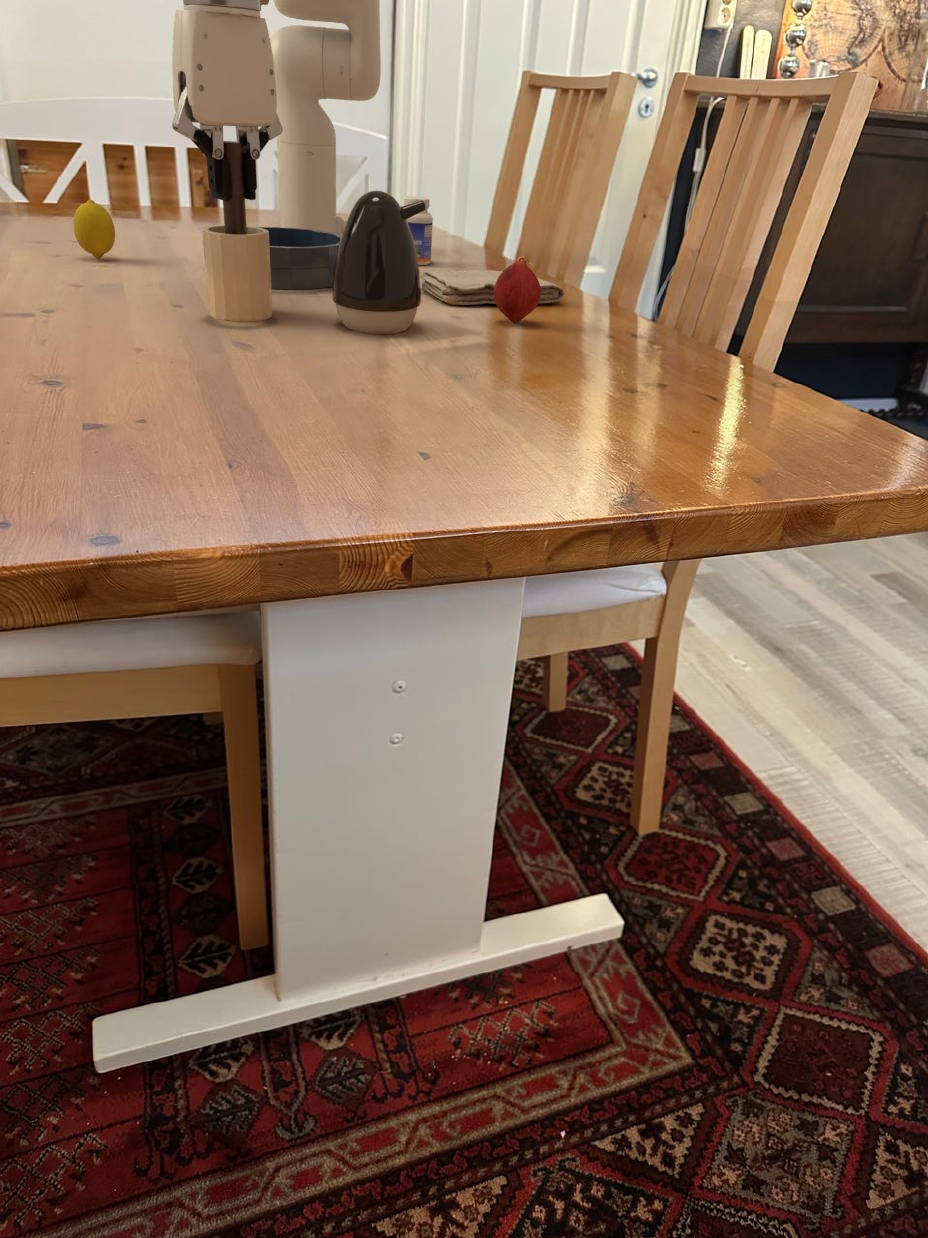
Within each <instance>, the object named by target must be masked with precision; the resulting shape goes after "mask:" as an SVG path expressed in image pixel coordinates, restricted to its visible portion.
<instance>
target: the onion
mask: <svg viewBox="0 0 928 1238" xmlns="http://www.w3.org/2000/svg"><path fill="white" fill-rule="evenodd" d="M527 262H528V259H527V258H526V256H524V255H523V256H519V257H518V258H517V259H516V260H515V261H514V262H513V263H511V265H508V266H507V267H506V268H505V269H504V270H502V271H503V272H502V273H501V274H500V276H499V277H498V279H497V281H496V284H495V289H494V298H495V302H496V304H495V305H496V308H498V310H499V311H500V313H501V314H502V315H503V316H504V317H506V318H507V319H508V320H509V321H510V322H511V323H514V324H517V323H520V322H521V321H522V320H523V319H525V318H526V317H527V316H528V315H530V314H531V313H532V312H533V311H534V310H535V309H536V308H537V307H538V305H539V304H540V303H539V301H540V296H541V287H540V284H539V281H538V279H537V278H538V277H537V275H536V274H535V272H534V271H533V270H532V269H531V268H530V267H529V266H528V265H527ZM538 303H539V304H538Z"/></svg>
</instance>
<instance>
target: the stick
mask: <svg viewBox="0 0 928 1238" xmlns="http://www.w3.org/2000/svg"><path fill="white" fill-rule="evenodd" d="M223 143H224V159H226V160H228V162H229V168H230V184H231V199H230V200H229V201H224V200H222V207H223V208H222V209H223V223H224V224H223V225H225V234H247V227H246V226H247V212H246V211H247V209H246V199H245V190H244V172H243V154H242V143H241V142H237V140H236V141H235V140H234V141H233V140H223Z"/></svg>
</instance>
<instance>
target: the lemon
mask: <svg viewBox="0 0 928 1238" xmlns="http://www.w3.org/2000/svg"><path fill="white" fill-rule="evenodd" d="M73 231H74V237H75V239H76V241H77V244H78V245H79V246H80V247H81V248H82V250H83V251H85V252H86V253H89V254H90V255H92V256H93V257H94V258H95V259H97V260H100V259H102V258H103V256H104V255H105V254H107V253H109V252H111V250H112V248H113V247H114V245H115V242H116V229H115V224H114V222H113V219H112V216H111V214H110V213H109V212H108V210H107V209H106V208H105V207H104V206H103V205H101V204H99V203H97V202H95V200H93V199H87V201H86V202H84V203H82V204H81V205H80V206H78V207H77V209H76V211H75V212H74V216H73Z"/></svg>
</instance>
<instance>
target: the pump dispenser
mask: <svg viewBox="0 0 928 1238" xmlns="http://www.w3.org/2000/svg"><path fill="white" fill-rule="evenodd" d="M425 209H426V206H425V203H424V201H422V200H421V201H418V202H415V203H412V204H409V205H405V206H404V205H403V206H401V205H400V203H399V202H398V201H397V199H396V198H395V197H394V196H392V195H391V194H390V193H388V192H385V191H382V190H371V191H368V192H366V193H364V194H362V195H361V196H360V197H359V198H358V199H357V200H356V202H355V203H354V205H353V207H352V208H351V210H350V212H349V215H348V217H347V219H346V221H347V222H346V225H345V227H344V230H343V233H342V236H341V240H340V243H339V247H338V251H337V256H336V261H335V268H334V276H333V285H332V287H331V288H332V289H331V297H332V298H331V299H332V301H333V303H334V304H335V308H336V312H337V315H338V317H339V319H340V321H341V322H342V324H343V325H344V326H345V327H346V328H347V329H348V330H351V331H354V332H358V333H363V334H371V335H391V334H400V333H403V332H405V331H406V330H408V329H409V327H410V326H411V325H412V323H413V322H414V320H415V318H416V315H417V311H418V307H420V305H421V303H422V284H421V275H420V265H418V259H417V254H416V249H415V245H414V241H413V237H412V234H411V231H410V228H409V225H408V222H407V219H409V218H411V217H412V216H414V215H416V214H418V213H420V212H422V211H424V210H425Z"/></svg>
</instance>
